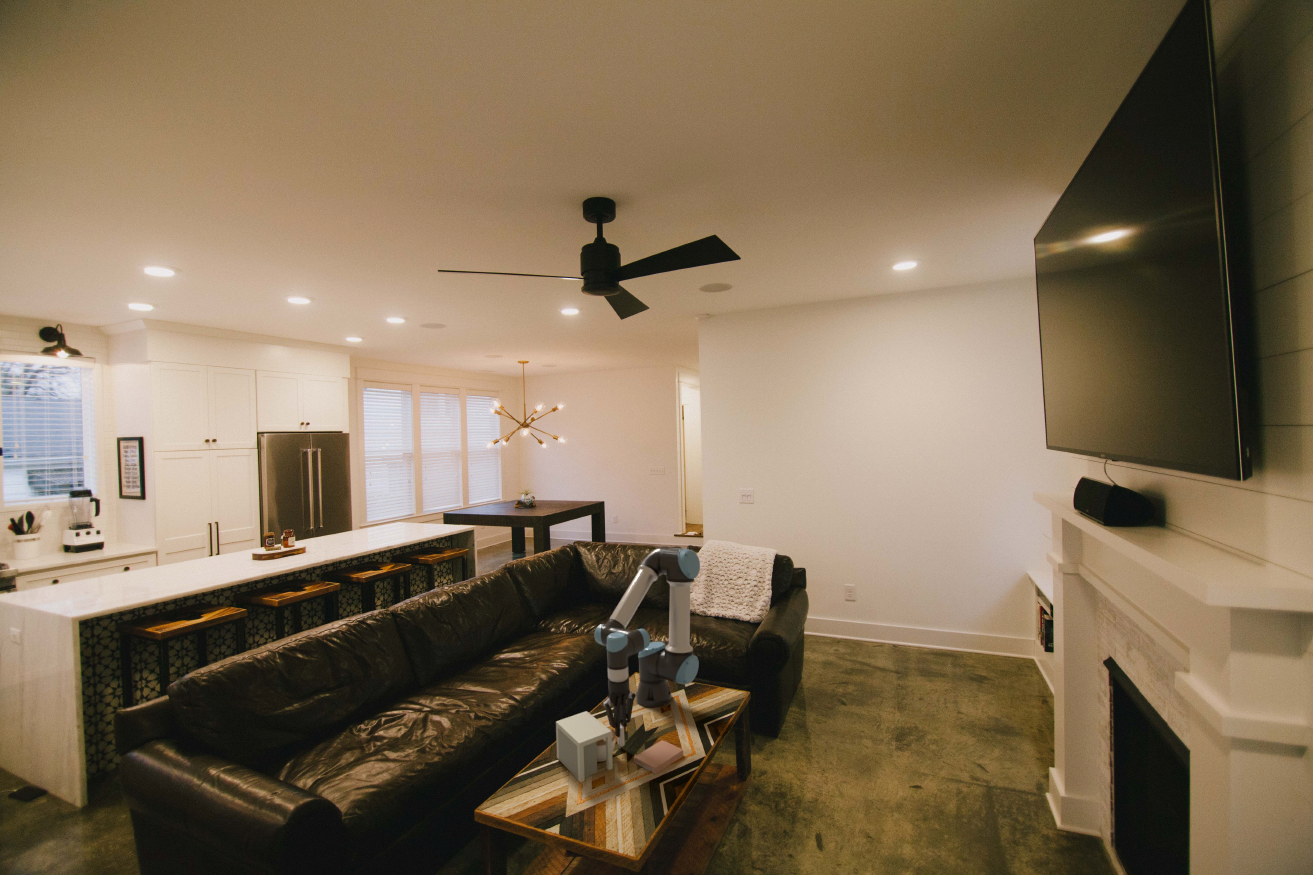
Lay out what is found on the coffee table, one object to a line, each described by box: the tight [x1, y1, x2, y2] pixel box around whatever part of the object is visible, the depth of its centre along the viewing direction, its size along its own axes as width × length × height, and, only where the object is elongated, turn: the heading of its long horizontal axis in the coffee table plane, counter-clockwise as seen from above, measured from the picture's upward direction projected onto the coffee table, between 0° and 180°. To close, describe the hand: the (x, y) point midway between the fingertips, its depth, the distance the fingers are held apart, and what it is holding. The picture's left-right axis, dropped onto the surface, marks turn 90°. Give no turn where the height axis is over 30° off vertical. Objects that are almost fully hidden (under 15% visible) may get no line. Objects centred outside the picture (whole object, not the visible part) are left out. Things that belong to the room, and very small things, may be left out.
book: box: [633, 739, 684, 775], centre depth 185 cm, size 14×10×2 cm
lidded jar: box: [596, 726, 616, 763], centre depth 188 cm, size 11×11×9 cm
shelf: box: [555, 710, 614, 783], centre depth 185 cm, size 12×18×12 cm, turn 35°
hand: (621, 744), depth 193 cm, fingers closed
